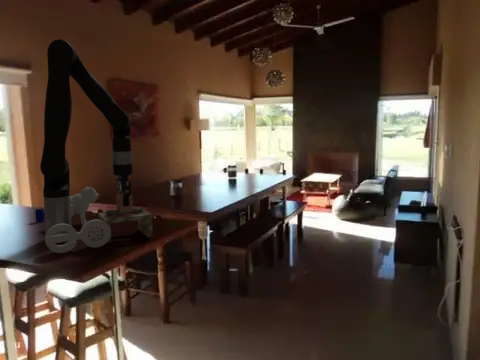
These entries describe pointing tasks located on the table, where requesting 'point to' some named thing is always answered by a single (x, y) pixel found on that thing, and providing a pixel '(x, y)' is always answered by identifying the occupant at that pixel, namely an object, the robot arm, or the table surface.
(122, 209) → the tan block
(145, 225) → the shelf
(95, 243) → the gray double disc plate
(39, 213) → the cable clip
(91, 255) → the table surface
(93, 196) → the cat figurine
